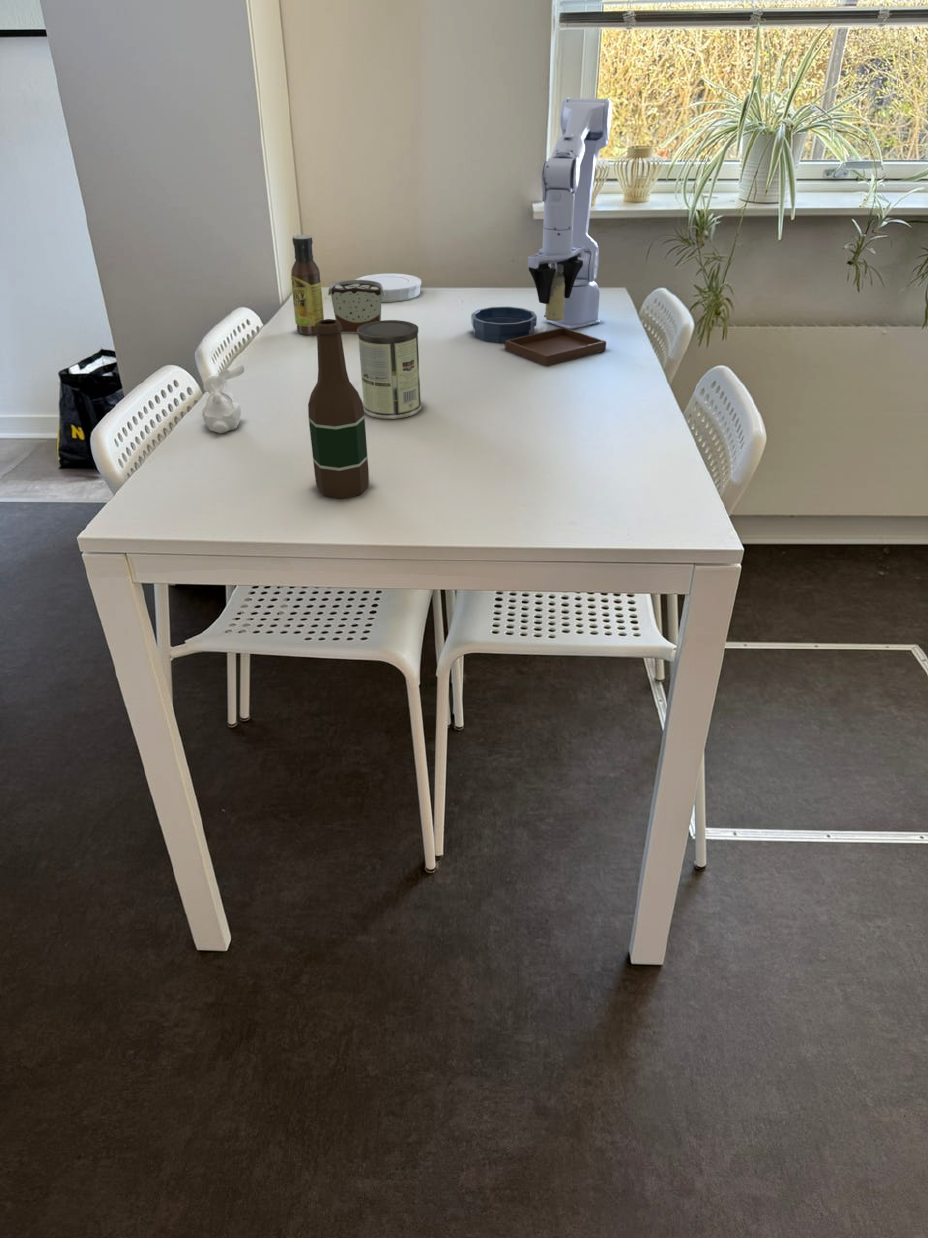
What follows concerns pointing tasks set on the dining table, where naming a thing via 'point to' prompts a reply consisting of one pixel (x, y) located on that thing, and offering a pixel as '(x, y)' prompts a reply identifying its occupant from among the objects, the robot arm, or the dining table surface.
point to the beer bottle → (336, 420)
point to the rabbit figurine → (221, 402)
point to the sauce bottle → (306, 286)
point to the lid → (396, 286)
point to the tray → (555, 346)
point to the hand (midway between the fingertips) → (554, 299)
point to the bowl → (502, 323)
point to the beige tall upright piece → (556, 296)
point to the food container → (356, 303)
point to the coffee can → (389, 368)
